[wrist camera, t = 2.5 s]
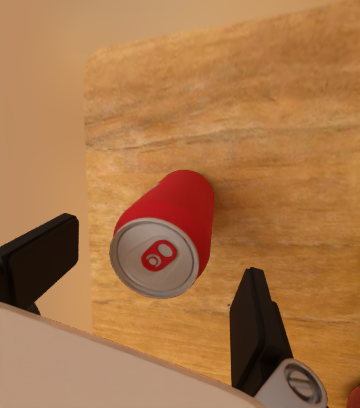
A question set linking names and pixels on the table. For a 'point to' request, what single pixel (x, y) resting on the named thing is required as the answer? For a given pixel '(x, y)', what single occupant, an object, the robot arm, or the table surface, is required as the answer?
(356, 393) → the apple
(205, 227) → the beverage can
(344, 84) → the table surface
